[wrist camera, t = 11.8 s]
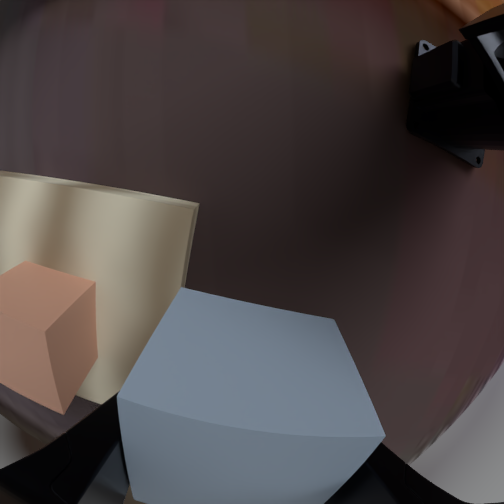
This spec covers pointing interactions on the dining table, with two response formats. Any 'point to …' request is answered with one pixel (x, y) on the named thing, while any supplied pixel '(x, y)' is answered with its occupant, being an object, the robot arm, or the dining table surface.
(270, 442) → the slate block
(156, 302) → the birch board
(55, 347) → the terracotta block
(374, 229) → the dining table surface
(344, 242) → the dining table surface
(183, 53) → the dining table surface
